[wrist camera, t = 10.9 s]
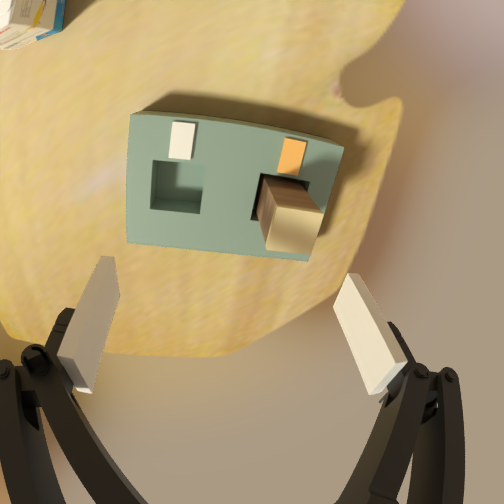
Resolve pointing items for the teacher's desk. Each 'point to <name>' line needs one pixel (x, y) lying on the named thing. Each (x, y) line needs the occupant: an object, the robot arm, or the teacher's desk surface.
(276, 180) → the plug
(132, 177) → the socket board
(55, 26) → the ink box
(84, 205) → the teacher's desk surface
